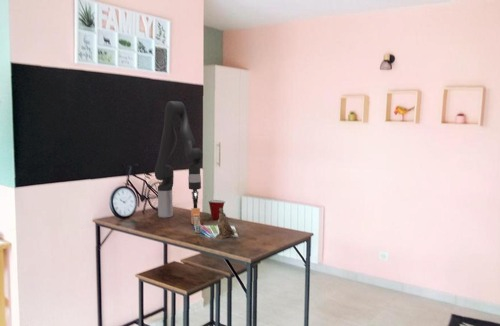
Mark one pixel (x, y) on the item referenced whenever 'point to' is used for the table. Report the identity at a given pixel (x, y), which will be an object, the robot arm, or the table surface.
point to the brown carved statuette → (224, 226)
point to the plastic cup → (215, 208)
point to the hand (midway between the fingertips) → (195, 209)
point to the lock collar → (195, 213)
